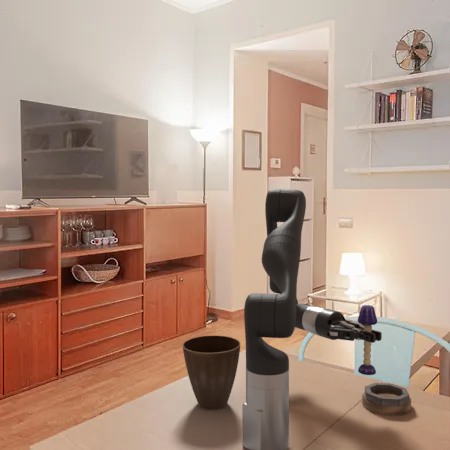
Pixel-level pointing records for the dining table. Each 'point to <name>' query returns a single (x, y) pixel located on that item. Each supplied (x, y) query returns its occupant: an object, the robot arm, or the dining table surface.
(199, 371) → the plant pot
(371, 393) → the plinth
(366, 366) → the toy lamp
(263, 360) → the robot arm
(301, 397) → the dining table surface
